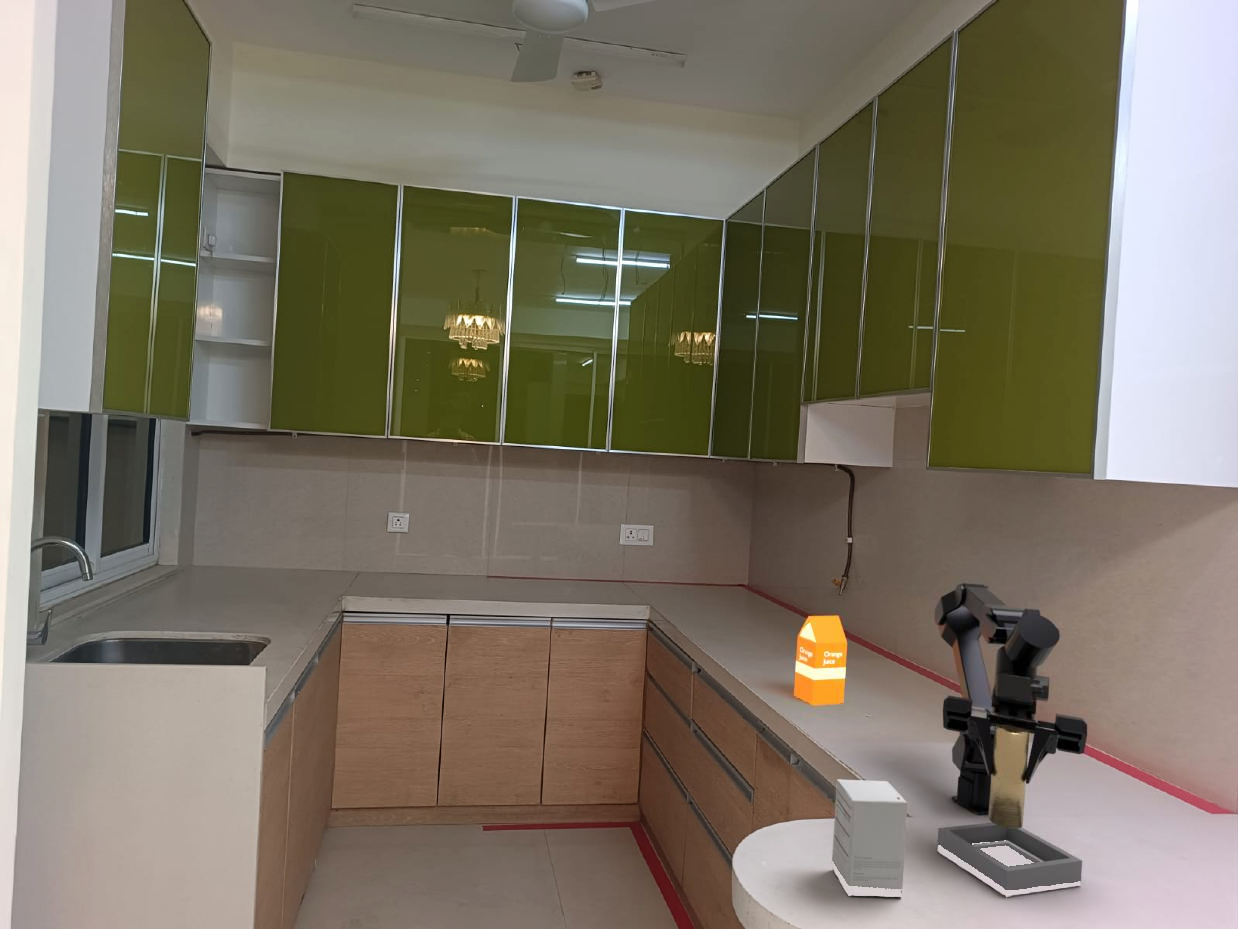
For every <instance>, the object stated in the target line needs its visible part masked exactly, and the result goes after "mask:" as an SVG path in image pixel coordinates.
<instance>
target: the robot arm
mask: <svg viewBox="0 0 1238 929" xmlns="http://www.w3.org/2000/svg"><path fill="white" fill-rule="evenodd" d="M933 616H934V623H935V625H936V626H937V627H938V630H939V631H938V632H939V635H940V638H941V639H942V640H944V641H945V642H946V644H948V645H949V647H950V648H952V651H953V657H954V663H955V667H956V673H957V678H958V682H959V687H960V693H961V697H959V696H953V695H947V696H946V697H945V698H944V699H943V704H942V705H943V706H942V727H943V729H945V730H948V731H952V732H957V733H959V734H958V735H959V736H958V737H957V740H956V741H955V743H954V744H953V745H952V747H951V748H952V749H951V755H952V756H951V757H952V758H951V761H952V764H954V766H955V767H956V768H957V770H959V775H958V777H957V793H956V795H952V796H951V800H952V801H954V802H956V803H957V804H959V805H960V806H962V807H964V808H966V809H968V810H970V811H971V812H973V813H975V814H977V815H986V814H988V815H989V803H990V789H991V776H992V760H993V746H994V732H995V726H996V725H1011V726H1016V727H1020V728H1023V729H1025V730H1027V731H1028V732H1029V734H1031V735H1032V734H1033V738H1032V744H1031V749H1030V752H1029V756H1028V757H1029V758H1028V760H1027V773H1026V785H1027V784H1028V785H1029V784H1030V783H1031V781H1032V779H1033V777H1034V775H1035V773H1036V771H1037V769H1038V768H1039V765H1040V764H1041V763H1042V761H1044V759H1045V758H1046V756H1047V755H1049V754H1050V755H1055V754H1057V753H1056V752H1057V750H1058V751H1060V752H1065V753H1070V754H1074V755H1083V754H1085V750H1086V749H1085V748H1086V743H1087V738H1088V723H1087V722H1086V721H1085V719H1084V718H1083V717H1077V716H1071V715H1065V714H1060V713H1055V718H1054V722H1051V721H1050V722H1048V721H1044V720H1038V719H1036V714H1037V701H1042V702H1048V701H1049V694H1050V693H1049V692H1050V677H1049V676H1043V675H1038V667H1039V666H1043V665H1044V663H1045V662H1046V660H1047V659H1048V657H1049V656H1050V655H1051V653H1052V651H1053V650H1054V648H1055V647H1056V645H1057V644H1058V643H1059V641H1060V637H1061V636H1060V630H1059V628H1058V627H1057V626H1056V625H1055V624H1054V623H1053V622H1052V621H1051V620H1050V619H1048V618H1047V617H1045V616H1043V615H1041V611H1040V609H1039V608H1028V607H1027V608H1021V607H1016V606H1011V605H1010V606H1009V605H1007V604H1006V603H1004V601H1002V600H1001V599H1000V598H999V597H998V596H996V595H995V594H994V593H993V592H992V591H991V590H990V588H989V586H987V585H985V584H982V583H971V582H970V583H968V582H962V583H958V584H957V585H956V588H955V589H954V590H952V591H950V592H948V593H946V594H945V595H942V596H941V597H940V599H939V600H938V602H937V604H936V606H935V608H934V615H933ZM981 636H982V637H983V639H984V641H985V642H986V643H987V644H989V645H1000V646H1001V645H1002V646H1001V647H1000V648H999V649H998V650H997V651H996V658H995V660H996V661H995V670H994V672H995V673H994V681H993V688H992V692H991V687H990V684H989V680H988V679H989V678H988V675H987V674H988V673H987V669H986V665H985V662H984V657H983V653H982V649H981V647H982V646H981V644H980V639H981Z"/></svg>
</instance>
